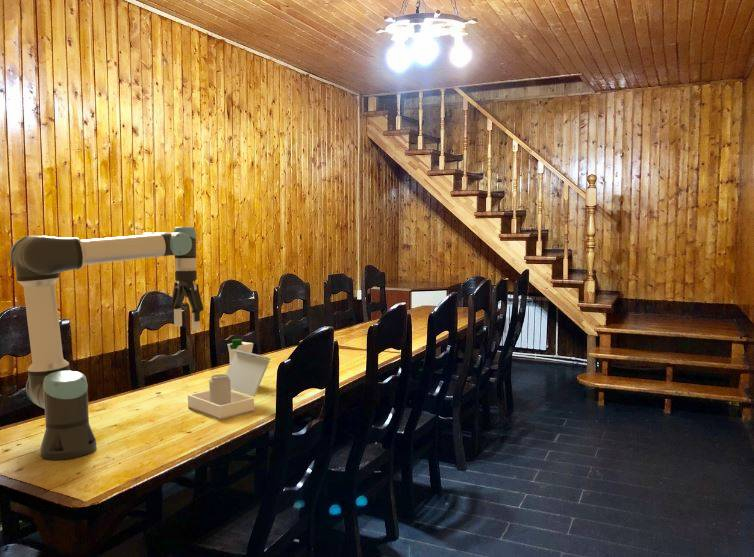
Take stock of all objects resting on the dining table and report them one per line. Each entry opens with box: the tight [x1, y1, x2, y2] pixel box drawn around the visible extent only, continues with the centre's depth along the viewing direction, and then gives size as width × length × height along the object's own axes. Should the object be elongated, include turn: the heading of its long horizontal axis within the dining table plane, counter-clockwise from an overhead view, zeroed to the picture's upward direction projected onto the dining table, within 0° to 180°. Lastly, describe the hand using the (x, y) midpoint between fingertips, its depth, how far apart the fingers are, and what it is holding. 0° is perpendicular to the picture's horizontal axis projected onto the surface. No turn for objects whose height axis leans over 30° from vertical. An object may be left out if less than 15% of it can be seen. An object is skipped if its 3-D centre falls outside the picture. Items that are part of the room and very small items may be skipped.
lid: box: [225, 349, 271, 398], centre depth 237 cm, size 15×22×2 cm
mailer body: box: [187, 389, 255, 421], centre depth 231 cm, size 14×22×5 cm, turn 45°
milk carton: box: [227, 338, 254, 364], centre depth 266 cm, size 9×9×20 cm
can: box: [208, 373, 232, 406], centre depth 231 cm, size 8×8×12 cm
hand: (186, 328), depth 229 cm, fingers open, 13 cm apart
